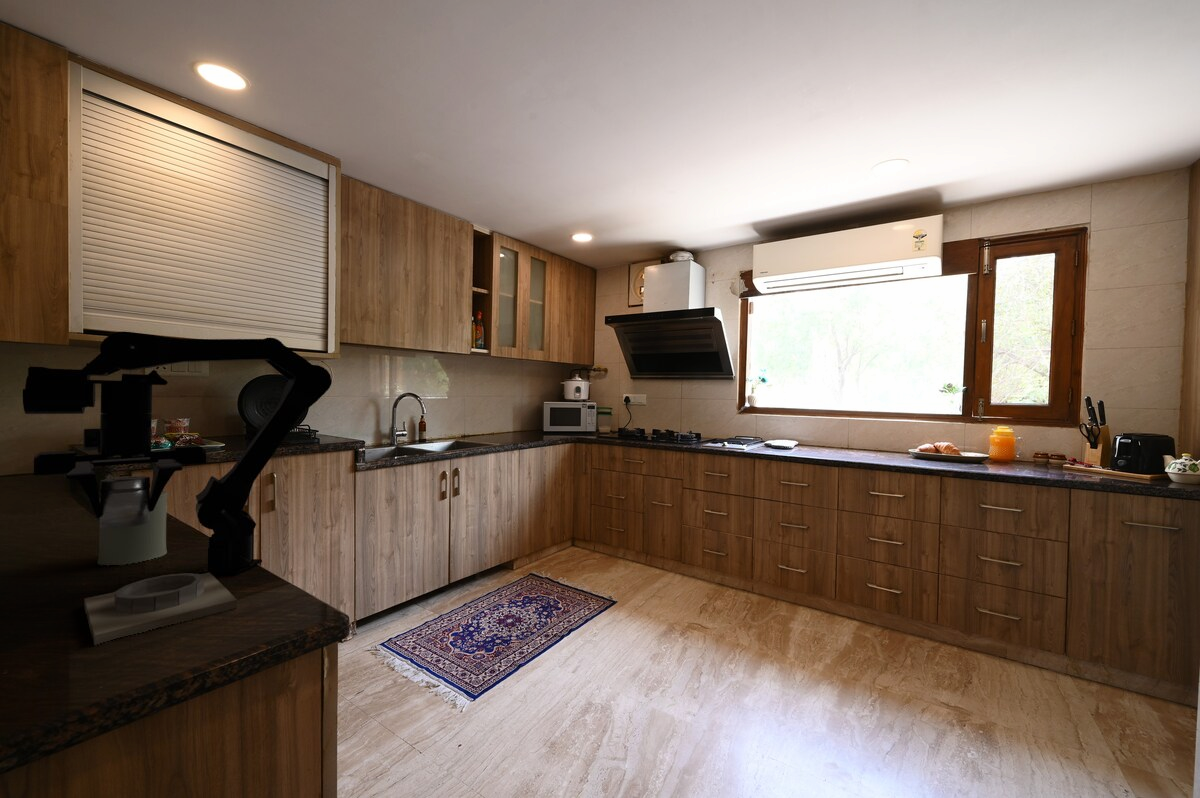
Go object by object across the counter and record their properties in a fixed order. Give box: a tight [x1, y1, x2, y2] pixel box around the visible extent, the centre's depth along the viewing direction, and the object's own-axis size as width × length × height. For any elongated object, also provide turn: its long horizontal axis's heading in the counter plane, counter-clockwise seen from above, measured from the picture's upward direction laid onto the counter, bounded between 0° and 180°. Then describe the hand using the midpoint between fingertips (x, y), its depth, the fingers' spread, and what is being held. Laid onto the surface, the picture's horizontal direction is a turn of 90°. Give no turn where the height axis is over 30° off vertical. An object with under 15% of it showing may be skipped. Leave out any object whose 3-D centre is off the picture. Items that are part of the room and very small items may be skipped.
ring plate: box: [83, 572, 238, 646], centre depth 68 cm, size 16×14×3 cm
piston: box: [99, 475, 151, 529], centre depth 75 cm, size 6×6×7 cm
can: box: [97, 490, 168, 567], centre depth 89 cm, size 9×9×12 cm
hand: (125, 514), depth 75 cm, fingers closed on piston, 5 cm apart
